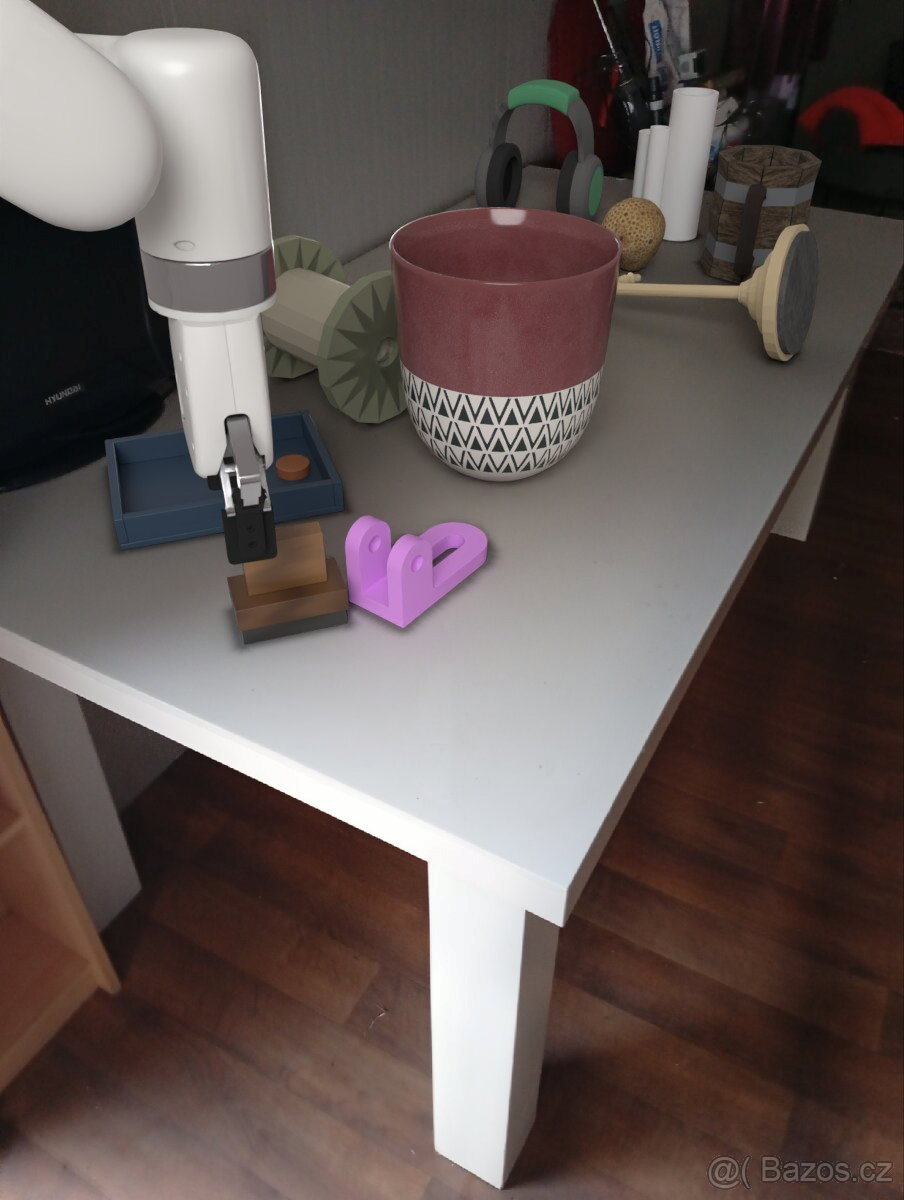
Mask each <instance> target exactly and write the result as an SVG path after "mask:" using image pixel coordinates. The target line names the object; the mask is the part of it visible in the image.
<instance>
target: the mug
mask: <svg viewBox="0 0 904 1200" xmlns="http://www.w3.org/2000/svg"><path fill="white" fill-rule="evenodd" d="M822 163H823V161H822V160H821V159H819V158H818V157H817V156H816V155H814V154H813V153H812V152H811V151H808V150H804V149H803V150H802V149H799V148H794V147H793V148H792V147H787V146H781V145H776V144H749V145H748V144H747V145H746V144H743V145H742V144H738V145H735V146H732V147H729V148H725V149H723V150H720V151H718V156H717V172H716V177H715V186H714V189H713V192H712V193H713V194H712V198H711V201H710V205H709V209H708V210H709V211H708V220H707V221H708V223H707V233H706V238H705V245H704V249H703V252H702V256H701V259H700V264H701V266H702V267H703V269H704V270H705V272H706V274H707V275H708V276H710V277H713V278H717V279H721V280H724V281H729V282H732V283H734V284H739V285H740V284H741V283H742V282H745V281H747V280H748V279H750V278H752V277H753V274H754V272H755V270H756V269H757V268H759V267H760V266H762V265H764V263H765V260H766V258H767V257H768V255H769V254H770V253H771V252H772V251H773V250H774V247H775V245H776V242H777V240H778V238H779V236H780V234H781V233H782V232H783V230H784V229H785V228H787V227H789V226H793V225H799V224H805V225H806V226H807V227H808V222H809V218H810V211H811V204H812V203H811V202H812V198H813V197H812V196H813V193H814V187H815V183H816V180H817V177H818V174H819V171H820V169H821V166H822Z"/></svg>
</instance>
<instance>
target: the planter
mask: <svg viewBox="0 0 904 1200" xmlns="http://www.w3.org/2000/svg"><path fill="white" fill-rule="evenodd" d="M622 251H623V247H622V243H621V241H620V239H619V238H618V237H617V236H616V235H615V234H614V233H613V232H612V231H610V230H609V229H607V228H605V227H603V226H601V224H599V223H597V222H595V221H593V220H592V221H590V220H587V219H584V218H580V217H577V216H573V215H569V214H564V213H559V212H556V211H553V210H552V211H551V210H544V209H536V208H527V207H526V208H525V207H515V208H503V207H497V208H479V207H475V208H465V209H464V208H463V209H456V210H450V211H449V210H448V211H444V212H440V213H435V214H431V215H427V216H424V217H420V218H417V219H416V220H413V221H411V222H408V223H407V224H405V225H402V226H401V227H400V228H399V229H397V230H396V231H395V232H394V234H393V235H392V236H391V238H390V241H389V258H390V259H389V260H390V271H391V274H392V284H393V293H394V303H395V314H396V326H397V338H398V348H399V357H400V367H401V378H402V385H403V392H404V397H405V401H406V404H407V408H406V409H407V411H408V415H409V417H410V420H411V423H412V425H413V427H414V429H415V432H416V433H417V435H418V437H419V438H420V440H421V441H422V442H423V444H424V445H425V446H426V448H427V449H428V450H429V451H430V453H432V454H433V455H434V456H435V457H436V458H437V459H439V460H440V461H441V462H442V463H443V464H445V465H446V466H448V467H449V468H451V469H453V470H454V471H457V472H458V473H460V474H463V475H464V476H468V477H470V478H473V479H476V480H480V481H487V482H514V481H519V480H523V479H526V478H530V477H533V476H535V475H537V474H539V473H543V471H546V470H547V469H549V468H551V467H552V466H554V465H555V464H557V463H558V462H559V461H561V460H562V459H563V458H565V456H566V455H568V453H569V452H571V451H572V450H573V448H574V447H575V446H576V445H577V443H578V442H580V440H581V438H582V436H583V435H584V434H585V433H584V432H585V431H586V429H587V427H588V425H589V422H590V420H591V418H592V417H593V413H594V411H595V408H596V405H597V401H598V397H599V393H600V390H601V383H602V378H603V372H604V368H605V361H606V356H607V350H608V345H609V339H610V332H611V326H612V319H613V313H614V307H615V303H616V296H617V295H616V291H617V286H618V280H619V277H620V272H621V267H620V266H621V259H622Z"/></svg>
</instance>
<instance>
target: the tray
mask: <svg viewBox="0 0 904 1200" xmlns="http://www.w3.org/2000/svg"><path fill="white" fill-rule="evenodd" d="M271 424H272V439H273V463H272V464H271V466H270V467H269V468H268V469H266V470H265V469H264V470H265V475H266V481H267V486H268V491H269V497H270V502H272V505H273V512H274V522H275V524H276V523H277V524H278V523H283V522H288V521H293V520H299V519H304V518H309V517H310V518H311V517H317V516H322V515H327V514H332V513H339V512H344V511H345V506H344V492H343V482H342V479H341V477H340V475H339V472H338V470H337V469H336V467H335V465H334V463H333V461H332V458H331V455H330V454H329V452H328V450H327V448H326V446H325V444H324V441H323V439H322V437H321V436H320V433H319V431H318V429H317V427H316V425H315V423H314V420H313V419H312V417H311V414H310V412H309V410H308V409H303V410H296V411H290V412H284V413H283V412H282V413H277V414H271ZM104 447H105V455H106V456H105V457H106V464H107V465H106V466H107V474H108V484H109V493H110V504H111V510H112V521H113V524H114V528H115V532H116V536H117V540H118V544H119V548H120V550H121V551H125V550H131V549H137V548H143V547H147V546H153V545H159V544H164V543H170V542H177V541H182V540H187V539H193V538H198V537H205V536H210V535H215V534H220V533H224V529H223V521H222V514H221V509H225V504H224V499H223V493H222V490H215V491H213V490H210V489H209V487H208V483H207V478H202V477H200V476H199V475H198V474H197V473H196V472H195V470H194V467H193V464H192V460H191V456H190V453H189V449H188V445H187V441H186V437H185V433H184V428H183V427H182V428H176V429H175V428H174V429H169V430H163V431H157V432H149V433H142V434H136V435H129V436H122V437H116V438H111V439H105V440H104ZM287 455H302V456H305V457H307V458H308V459H309V461H310V474H309V475H308V476H307V477H305V478H303V479H300V480H284V479H281V478H280V477H278V475H277V472H276V462H277V460H278V459H280V458H281V457H284V456H287ZM237 488H238V487H237ZM231 489H232V493H234V492H233V491H234V488H231Z"/></svg>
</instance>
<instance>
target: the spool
mask: <svg viewBox="0 0 904 1200" xmlns="http://www.w3.org/2000/svg"><path fill="white" fill-rule="evenodd" d="M272 240H273V248H274V260H275V273H276V285H277V297H278V298H277V300H276V302H275V304H274V305H273V306H272V307H270V308H269V309H267V310H265V311H263V312H261V313H260V314H261V323H262V332H263V341H264V347H265V359H266V369H267V376H269V377H274V378H283V379H284V378H285V379H295V378H297V377H300V376H302V375H305V374H308V373H310V372H313V371H314V370H315V369H317V370H318V379H319V385H320V387H321V389H322V391H323V393H324V394H325V396H326V398H327V400H328V402H329V404H330V406H331V407H334V409H335V410H337V411H338V412H340V413H341V414H343V415H344V416H346V417H347V418H349V419H351V420H353V421H355V422H357V423H364V424H367V423H368V424H381V423H383V422H385V421H388V420H390V419H392V418H394V417H396V416H399V415H400V414H402V413H403V412H404V411H405V410H406V409H408V408H407V404H406V401H405V397H404V392H403V385H402V378H401V367H400V357H399V348H398V338H397V326H396V314H395V303H394V293H393V284H392V274H391V270H388V269H383V270H379V271H376V272H374V273H370V274H367V275H364V276H361V277H360V278H359V279H357V281H355V282H354V283H353V284H352V285H349V279H348V276H347V275H346V272H345V270H344V268H343V265H342V263H341V261H340V258H339V257H338V256H337V255H336V254H335V253H334V252H333V251H331V249H329V248H328V247H327V246H326V245H325V244H324V243H322V242H320V241H318V240H315V239H312V238H308V237H304V236H299V235H295V234H289V235H285V236H282V237H281V236H280V237H278V238H274V239H272Z"/></svg>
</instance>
